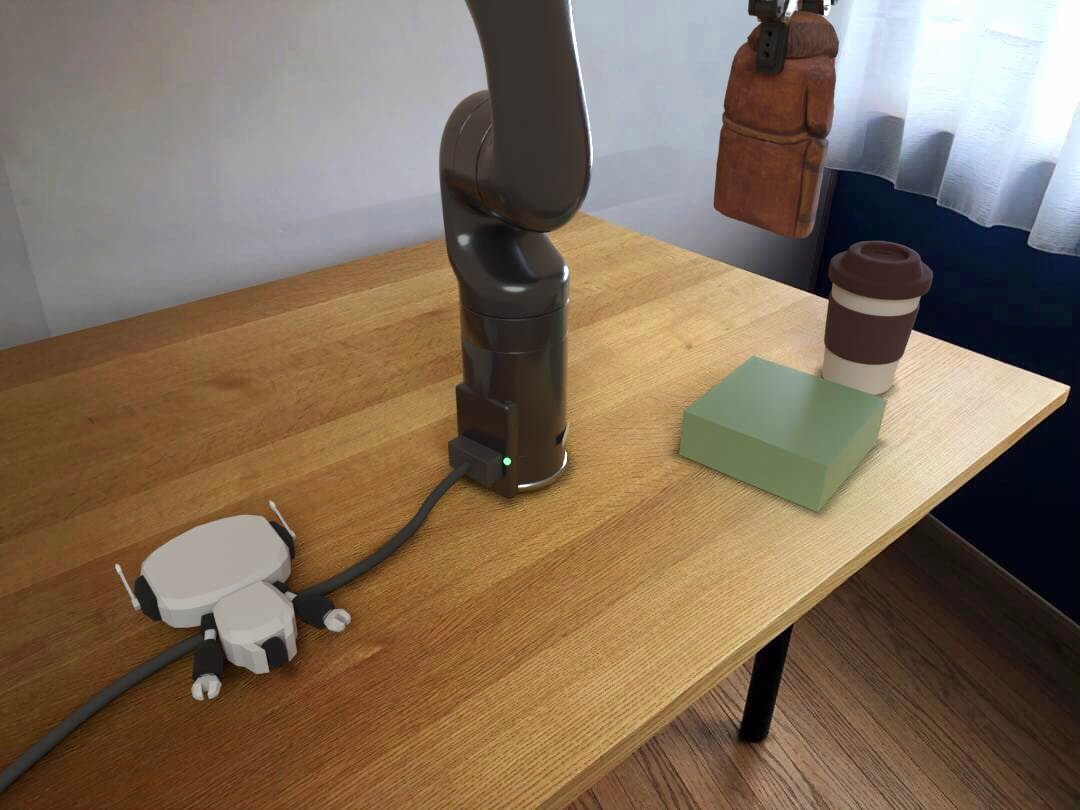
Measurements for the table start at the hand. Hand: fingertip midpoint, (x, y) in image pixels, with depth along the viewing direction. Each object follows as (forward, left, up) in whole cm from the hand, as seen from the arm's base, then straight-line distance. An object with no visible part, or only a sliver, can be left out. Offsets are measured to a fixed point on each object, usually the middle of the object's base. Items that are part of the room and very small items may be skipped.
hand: (786, 66), depth 73 cm
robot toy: (-52, +14, -34) cm, 63 cm away
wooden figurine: (0, 0, -14) cm, 14 cm away
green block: (-6, -7, -33) cm, 35 cm away
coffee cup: (+12, -8, -34) cm, 37 cm away
